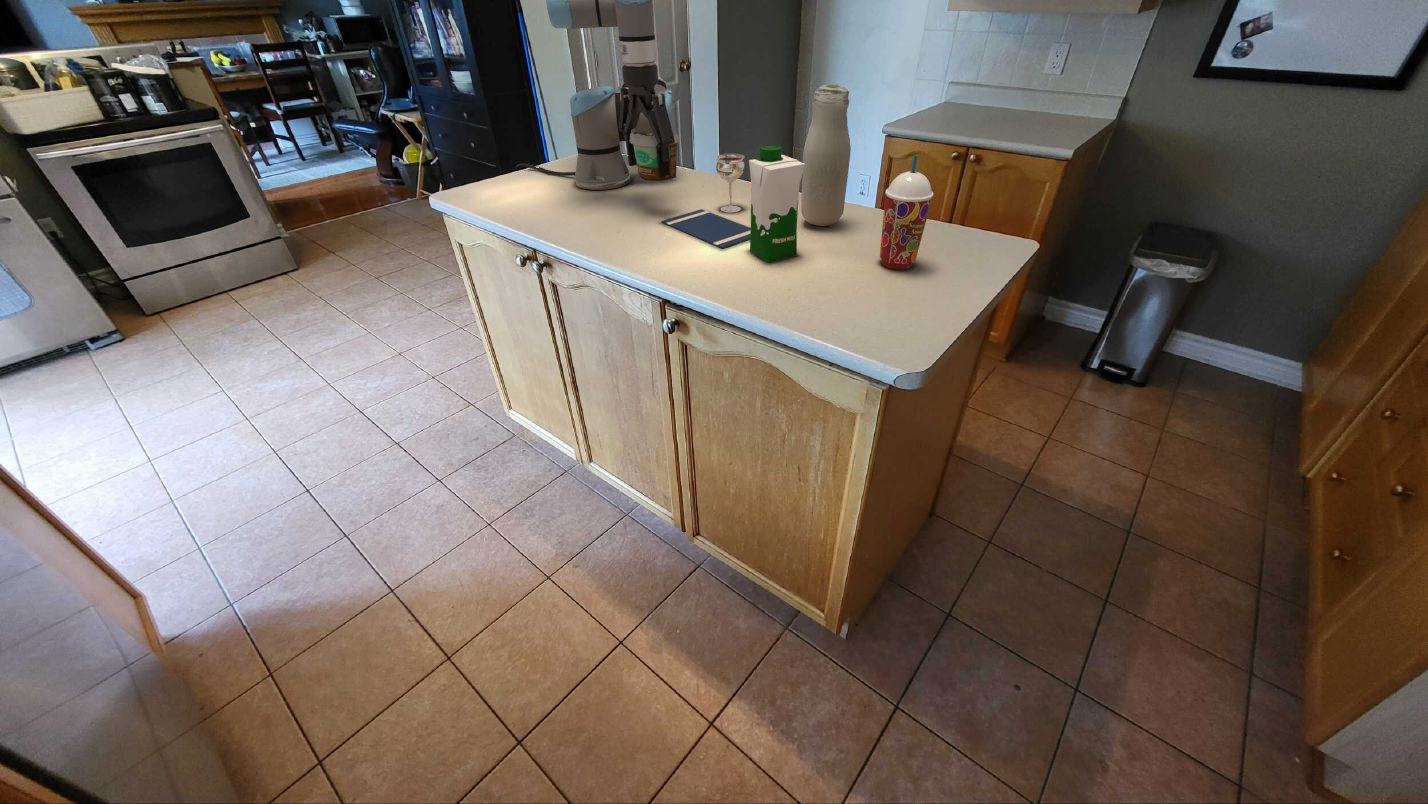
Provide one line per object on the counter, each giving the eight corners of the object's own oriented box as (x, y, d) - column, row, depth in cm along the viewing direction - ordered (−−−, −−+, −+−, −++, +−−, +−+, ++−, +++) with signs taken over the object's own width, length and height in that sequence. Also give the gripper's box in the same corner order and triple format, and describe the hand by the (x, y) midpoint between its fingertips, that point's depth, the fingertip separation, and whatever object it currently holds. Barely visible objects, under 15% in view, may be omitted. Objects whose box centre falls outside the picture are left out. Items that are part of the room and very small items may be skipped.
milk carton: (779, 242, 121) (783, 142, 109) (803, 256, 115) (811, 151, 103) (743, 250, 118) (744, 148, 106) (766, 266, 112) (770, 158, 100)
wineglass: (724, 215, 136) (723, 162, 129) (712, 207, 141) (711, 156, 134) (749, 210, 138) (750, 158, 131) (737, 203, 143) (737, 152, 136)
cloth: (661, 222, 133) (661, 220, 133) (701, 210, 139) (701, 209, 139) (722, 249, 119) (722, 247, 119) (763, 234, 125) (764, 232, 125)
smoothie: (911, 276, 106) (933, 164, 94) (868, 267, 110) (884, 158, 98) (923, 260, 112) (946, 152, 100) (882, 252, 116) (899, 147, 104)
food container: (623, 179, 134) (618, 134, 128) (637, 172, 139) (632, 128, 133) (668, 185, 130) (665, 138, 124) (681, 177, 134) (678, 132, 128)
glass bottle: (841, 216, 133) (856, 80, 116) (843, 232, 125) (859, 89, 108) (799, 215, 134) (808, 81, 117) (797, 231, 126) (807, 89, 109)
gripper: (595, 60, 126) (608, 163, 139) (657, 71, 111) (665, 185, 125) (623, 57, 130) (634, 157, 143) (687, 67, 115) (692, 177, 128)
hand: (648, 170), depth 134 cm, fingers closed on food container, 12 cm apart
